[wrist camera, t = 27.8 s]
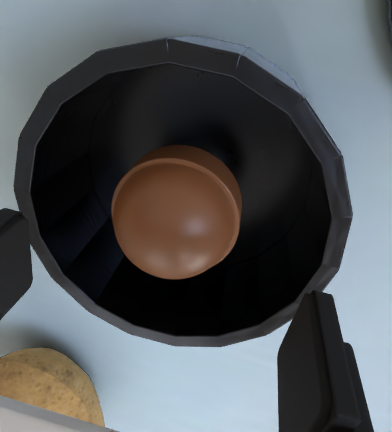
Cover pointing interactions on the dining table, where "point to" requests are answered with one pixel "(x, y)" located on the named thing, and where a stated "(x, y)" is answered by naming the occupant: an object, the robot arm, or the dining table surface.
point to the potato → (50, 383)
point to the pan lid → (390, 16)
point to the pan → (200, 138)
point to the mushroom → (177, 212)
